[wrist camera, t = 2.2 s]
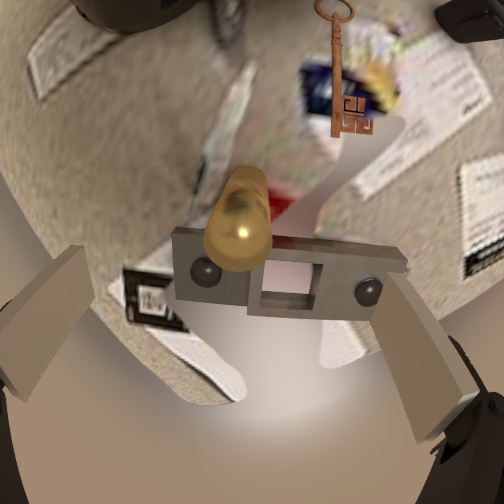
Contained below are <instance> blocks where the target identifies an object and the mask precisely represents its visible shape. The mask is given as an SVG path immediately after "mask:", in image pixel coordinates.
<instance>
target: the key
mask: <svg viewBox="0 0 504 504" xmlns="http://www.w3.org/2000/svg"><path fill="white" fill-rule="evenodd" d="M320 1H322V0H317V1H316V3H315V8H316V10H317V12H318V13H319V14H320V15H321V16H322V17H324V18H326V19H328V20H330V21H332V31H333V34H332V38H333V40H332V43H331V44H332V54H333V82H332V122H331V137H336V138H340V131H341V132H350V133H355V118H356V117H351V116H345V124H349V127H346V126H343V113H346V114H353V115H361V116H363V115H364V114H359V113H352V112H344V111H343V108H344V99H350V102H349V101H345V109H347V110H354V111H356V97H352V96H346V95H341V80H342V59H341V46H342V42H341V35H340V32H341V28H340V22H347V21H350V20H351V19H352V18H353V16H354V10H353V8H352V6H351V5H350V4H349V3H348V2H346V1H345V0H340V1H342V2H344V3H346V4H347V5H348V6H349V7H350V9H351V12H352V14H351V16H350V17H349V18H346V19H340V18H339V16H338V14H337V12H334V15H333V17H330V16H328V15H326V14H325V13H324V12H323V11H322V10H321V8H320ZM364 106H365V99H364V98H358V111H361V112H364ZM368 126H369V120H363V118H358V119H357V123H356V133H358V134H366V135H373V119H372V120H370V128H369V129H364V127H368Z"/></svg>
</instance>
